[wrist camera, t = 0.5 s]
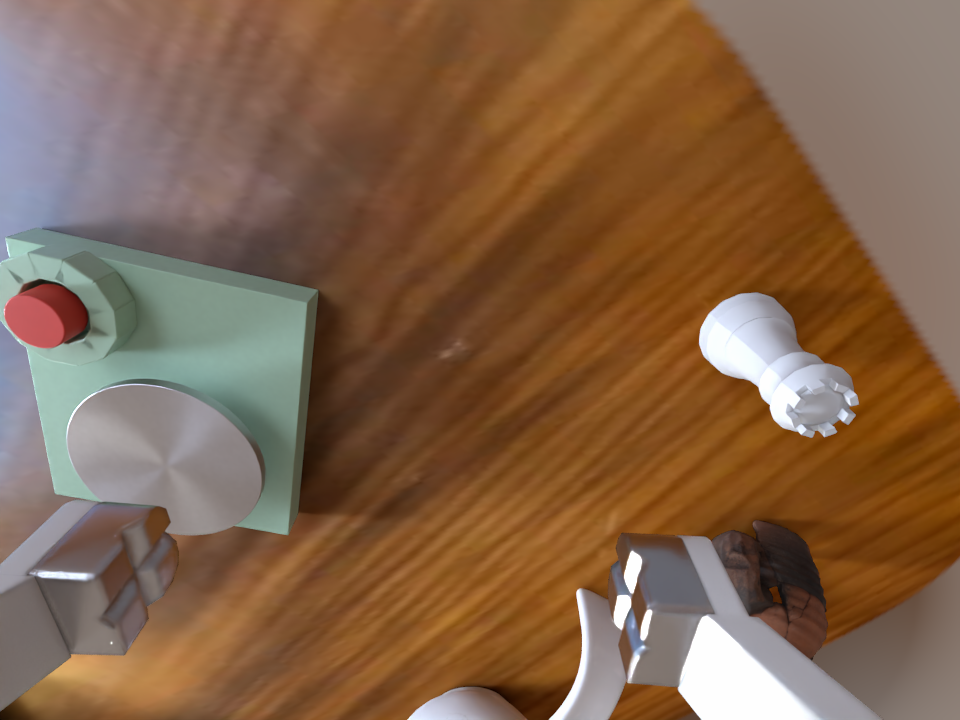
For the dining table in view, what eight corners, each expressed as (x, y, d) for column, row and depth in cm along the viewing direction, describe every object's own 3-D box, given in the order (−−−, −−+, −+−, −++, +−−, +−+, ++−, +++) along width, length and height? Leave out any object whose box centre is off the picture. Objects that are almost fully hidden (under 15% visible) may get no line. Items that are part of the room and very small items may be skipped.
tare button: (26, 277, 24) (-3, 289, 22) (85, 290, 24) (60, 302, 22) (35, 328, 25) (8, 342, 23) (92, 340, 25) (68, 354, 24)
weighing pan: (61, 359, 25) (52, 365, 25) (270, 400, 26) (265, 407, 25) (86, 510, 30) (78, 517, 29) (262, 541, 31) (258, 549, 30)
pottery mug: (828, 571, 36) (839, 706, 32) (687, 556, 42) (679, 669, 37) (808, 490, 29) (819, 649, 24) (641, 484, 35) (624, 614, 30)
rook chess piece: (678, 343, 28) (741, 429, 21) (734, 273, 26) (825, 342, 19) (742, 378, 29) (824, 472, 22) (801, 313, 27) (911, 392, 20)
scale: (35, 222, 26) (-28, 240, 22) (319, 285, 27) (297, 310, 24) (76, 473, 33) (33, 513, 30) (298, 513, 34) (279, 555, 31)
